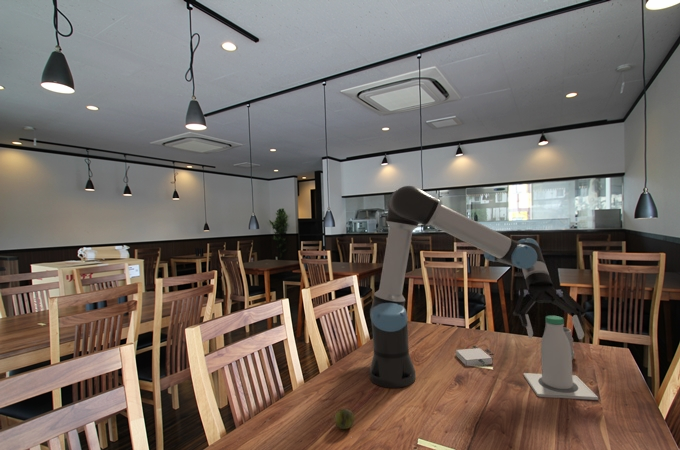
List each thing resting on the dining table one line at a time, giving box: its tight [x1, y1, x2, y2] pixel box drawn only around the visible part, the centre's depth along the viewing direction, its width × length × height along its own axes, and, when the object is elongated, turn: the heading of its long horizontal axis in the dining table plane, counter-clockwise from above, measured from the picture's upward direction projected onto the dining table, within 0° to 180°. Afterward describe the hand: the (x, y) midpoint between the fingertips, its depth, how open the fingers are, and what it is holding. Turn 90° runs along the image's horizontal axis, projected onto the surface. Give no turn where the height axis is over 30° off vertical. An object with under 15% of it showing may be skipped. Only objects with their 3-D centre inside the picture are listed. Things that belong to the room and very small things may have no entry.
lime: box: [334, 408, 355, 430], centre depth 86 cm, size 4×5×5 cm
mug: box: [543, 323, 576, 361], centre depth 123 cm, size 8×12×12 cm, turn 8°
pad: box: [523, 372, 599, 401], centre depth 101 cm, size 15×13×1 cm
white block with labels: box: [455, 345, 495, 367], centre depth 123 cm, size 20×11×3 cm, turn 3°
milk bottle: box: [540, 315, 573, 389], centre depth 101 cm, size 8×8×20 cm
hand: (556, 336), depth 102 cm, fingers open, 13 cm apart
